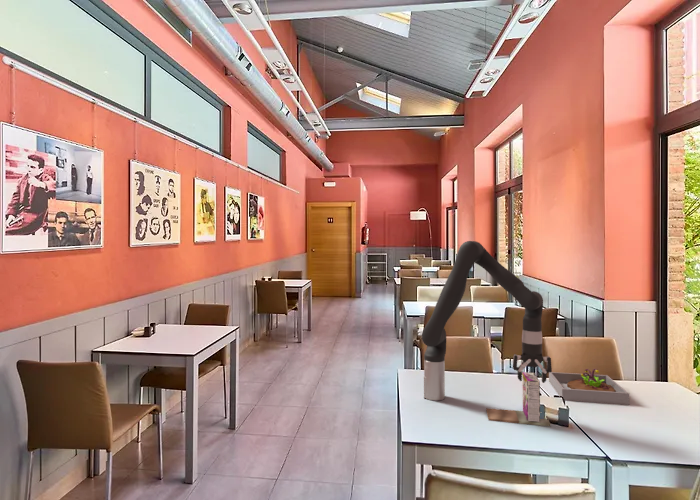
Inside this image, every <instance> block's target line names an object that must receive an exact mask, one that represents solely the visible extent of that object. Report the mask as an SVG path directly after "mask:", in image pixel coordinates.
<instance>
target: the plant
mask: <svg viewBox="0 0 700 500" xmlns="http://www.w3.org/2000/svg"><path fill="white" fill-rule="evenodd" d="M595 373H596V374H599V373H600V370H599V369H597V368H593V369H592V371H590V369H589V368H586V369H584V372H582V373H580V374H581V376H582V377H583V378H584V379H578V380H575V381H570V382H568V383H566V388H567V389H579V390H594V391H609V392H616V391H615V389H614V388H613V387H612V386H611V385H607V384H606V383H603V381H604V380H600V381H598V379H599V378H598V377H595V376H594V375H595ZM585 374H587V375H588V376H587V378H586V377H584V375H585ZM589 374H590V375H589Z"/></svg>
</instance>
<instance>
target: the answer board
mask: <svg viewBox="0 0 700 500" xmlns="http://www.w3.org/2000/svg"><path fill="white" fill-rule="evenodd" d="M485 410H486V414H487V420H488V421H491V422H500V423H501V422H502V423H512V424H519V425H520V424H521V425H532V426H542V427H543V426H544V427H551V422H550V420H549V419H548V420H545V419H540V422H529V421H528V420H527V418H526V416H525V414H524V412H523V410H513V409H501V408H500V409H499V408H486V409H485Z"/></svg>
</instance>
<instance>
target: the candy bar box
mask: <svg viewBox="0 0 700 500" xmlns="http://www.w3.org/2000/svg"><path fill="white" fill-rule="evenodd" d="M521 372H522V371H521ZM521 383H522V385H521V386H522V411H523V412H524V414H525V416H526V418H527V420H528V421H529V422H540V413H541V381H540V380H539V378H538V376H537V375H536V374H535V372H528V371H527V372H525V371H523V372H522V381H521Z"/></svg>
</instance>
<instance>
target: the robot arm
mask: <svg viewBox="0 0 700 500" xmlns="http://www.w3.org/2000/svg"><path fill="white" fill-rule="evenodd" d="M474 264H476V265H478V266H479V267H481V268H482V269H484V270H485V271H486V272H487V273H488V274H489V275H490V276H491V277H492V279H493V280H494V281H495V282H496V283H497V284H498V285H499V286H500V287H501V288H502V289H503V290H505V291H506V292H507V293H509V294H510V295H511V296H512V297H513V298H514V299H515V301H516V302H518V304H519V305H520V306H522V307H523V308H524V316H523V318H522V333H521V355H518V354H516V353H514V354H513V358H512V359H513V360H512V369H513V370H514V371H517V379H518V380H519V382H522V371H523V370H524V369H525V368H526V367H527V368H528V367H529V368H531V367H533V368H539V369H540V370H541V371H542V372H541V382H542V383H543V384H544V383H546V382H547V374H549V372H553V371H552V369H553V368H552V358H551V356H549V355H547V356H543V333H542V330H543V329H542V327H543V326H542V323H543V322H542V317H543V307H544V300H543V295H541V293H540V292H539V291H533V290H530V289H529V288H528V287H527V286H526V285H525V283H524V282H523V281H522V279H520V278H519V277H518V276H516V275H515V274H514V273H513V272H511V270H508V268H506V267H505V266H504V265H502V264H501V263H500V262H499V261H498V260H496V259H495V258H494V257H493V256H492V255H491V253H490V252H489V251H488V250H487V249H486V248H485V247H484V245H482V243H481V242H478V241H476V240H475V241H474V240H466V241H464V242H463V243H462V244H461V245H460V246H459V248H458V252H457V254H456V258H455V261H454V263H453V266H452V268H451V271H450V273H449V274H448V277H447V278H446V281H445V284H444V285H443V287H442V290H441V292H440V294H439V296H438V299H437V301H436V304H435V306H434V309H433V311H432V314H431V316H430V318H429V320H428V322H427V323H426V324H425V326H424V328H423V330H422V331H421V341H422V343H423V344H424V345H425V346H426V350H425V351H424V354H423V359H424V360H423V370H424V371H423V373H424V374H423V375H424V376H423V399H424V398H426V399H427V400H429V401H442V400H444V399H446V398H445V397H446V388H445V387H446V380H445V379H446V377H445V376H446V375H445V374H446V372H445V371H446V369H445V368H446V367H445V366H446V365H445V363H446V362H445V361H446V359H445V357H446V354H447V332H446V329H445V327H446V324H447V323H448V321H449V320H450V319H451V317H452V315H453V314H454V313H455V312H456V310H457V309H458V307H459V305H460V303H461V302H462V299H463V297H464V294H465V291H466V289H467V288H466V287H467V281H468V277H469V276H468V275H469V274H470V272H471V270H472V268H473V266H474ZM520 359H521V361H522V362H521V363H520V365H519V366H518V361H519V360H520ZM543 361H544V362H545V363H546V368H544V366H543V365H542V362H543Z"/></svg>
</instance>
